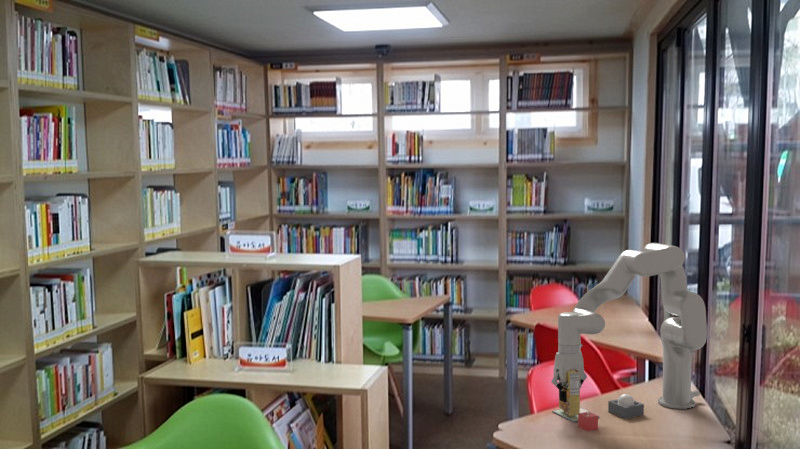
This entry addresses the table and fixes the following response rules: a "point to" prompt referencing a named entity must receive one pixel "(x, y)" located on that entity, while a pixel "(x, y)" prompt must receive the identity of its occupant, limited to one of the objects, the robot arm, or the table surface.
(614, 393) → the table surface
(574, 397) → the candy box
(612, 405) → the housing
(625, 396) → the white round ball
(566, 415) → the striped board
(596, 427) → the red die
